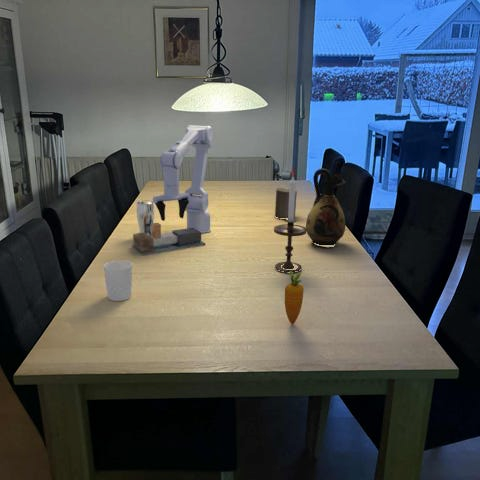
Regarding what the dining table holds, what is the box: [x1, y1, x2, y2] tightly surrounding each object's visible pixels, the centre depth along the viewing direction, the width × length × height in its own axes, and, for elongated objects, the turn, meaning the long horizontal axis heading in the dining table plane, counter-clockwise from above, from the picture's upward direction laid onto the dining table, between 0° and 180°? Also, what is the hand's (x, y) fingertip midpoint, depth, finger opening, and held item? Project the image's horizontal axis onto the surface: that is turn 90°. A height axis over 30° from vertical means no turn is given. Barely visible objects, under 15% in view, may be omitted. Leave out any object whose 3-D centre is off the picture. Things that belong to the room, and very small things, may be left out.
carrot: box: [284, 271, 305, 325], centre depth 131 cm, size 5×5×15 cm
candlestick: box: [273, 168, 307, 272], centre depth 168 cm, size 11×11×35 cm
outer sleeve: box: [131, 227, 206, 256], centre depth 193 cm, size 26×11×5 cm, turn 121°
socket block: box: [132, 233, 154, 252], centre depth 188 cm, size 4×9×5 cm, turn 31°
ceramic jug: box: [305, 167, 346, 245], centre depth 196 cm, size 17×15×30 cm
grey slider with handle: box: [150, 222, 179, 246], centre depth 191 cm, size 16×4×8 cm, turn 121°
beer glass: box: [136, 200, 155, 236], centre depth 200 cm, size 7×7×15 cm
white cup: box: [103, 259, 133, 302], centre depth 146 cm, size 8×8×10 cm
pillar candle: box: [274, 186, 298, 218], centre depth 236 cm, size 10×10×15 cm
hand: (172, 218), depth 193 cm, fingers open, 7 cm apart
